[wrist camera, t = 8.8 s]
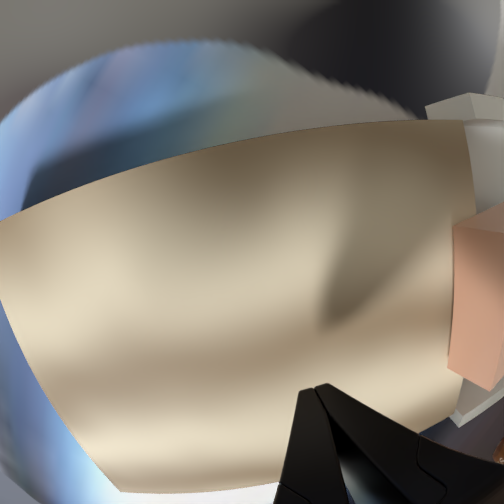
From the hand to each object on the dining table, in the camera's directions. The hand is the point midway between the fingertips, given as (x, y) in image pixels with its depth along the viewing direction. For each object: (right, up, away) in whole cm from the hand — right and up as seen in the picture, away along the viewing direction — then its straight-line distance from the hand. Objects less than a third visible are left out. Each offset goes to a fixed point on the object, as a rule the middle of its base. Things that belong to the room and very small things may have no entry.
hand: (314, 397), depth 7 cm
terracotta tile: (+8, +3, +2) cm, 9 cm away
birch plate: (-2, +1, +4) cm, 5 cm away
